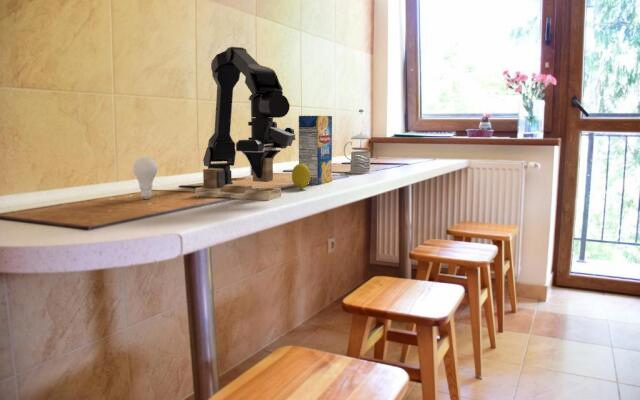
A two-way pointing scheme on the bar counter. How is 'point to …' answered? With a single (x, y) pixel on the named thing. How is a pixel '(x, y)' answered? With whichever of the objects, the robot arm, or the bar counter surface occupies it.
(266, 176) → the beige cardboard cube
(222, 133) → the robot arm
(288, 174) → the bar counter surface
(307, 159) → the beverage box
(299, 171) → the lemon
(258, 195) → the rail
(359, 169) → the french press
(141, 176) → the lightbulb
